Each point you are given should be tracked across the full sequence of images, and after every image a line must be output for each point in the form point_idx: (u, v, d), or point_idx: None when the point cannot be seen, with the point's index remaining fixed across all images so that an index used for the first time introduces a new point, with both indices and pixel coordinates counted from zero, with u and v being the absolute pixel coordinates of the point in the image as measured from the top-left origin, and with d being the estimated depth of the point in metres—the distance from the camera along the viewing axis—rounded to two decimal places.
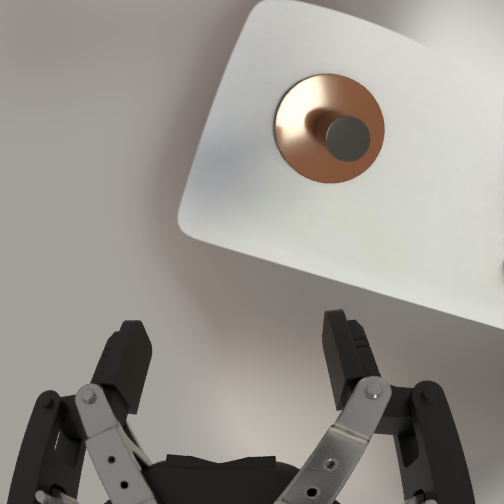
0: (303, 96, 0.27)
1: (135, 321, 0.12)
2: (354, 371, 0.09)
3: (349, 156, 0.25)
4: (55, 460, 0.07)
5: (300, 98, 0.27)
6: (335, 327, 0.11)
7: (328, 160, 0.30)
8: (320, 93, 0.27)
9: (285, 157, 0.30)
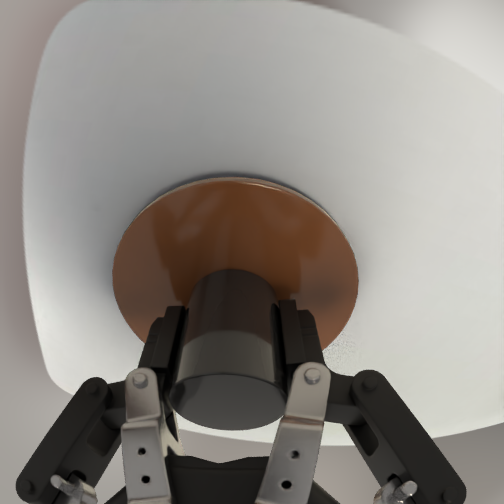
0: (155, 243, 0.12)
1: (179, 306, 0.13)
2: (296, 357, 0.10)
3: (236, 425, 0.10)
4: (84, 448, 0.07)
5: (149, 248, 0.13)
6: (284, 315, 0.12)
7: None
8: (194, 232, 0.12)
9: None
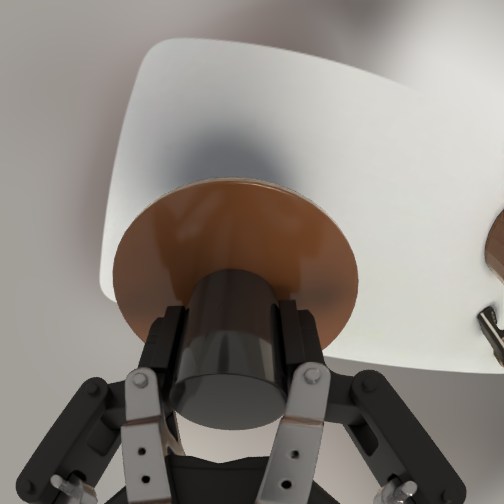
0: (155, 243, 0.12)
1: (179, 306, 0.13)
2: (296, 357, 0.10)
3: (236, 425, 0.10)
4: (84, 448, 0.07)
5: (149, 248, 0.13)
6: (284, 315, 0.12)
7: None
8: (195, 232, 0.12)
9: None
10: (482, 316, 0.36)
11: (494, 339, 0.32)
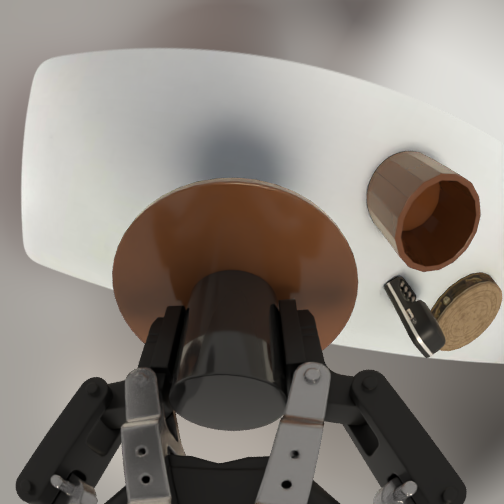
0: (155, 244, 0.12)
1: (179, 306, 0.13)
2: (296, 357, 0.10)
3: (235, 426, 0.10)
4: (84, 448, 0.07)
5: (149, 249, 0.13)
6: (284, 315, 0.12)
7: None
8: (194, 233, 0.12)
9: None
10: (388, 286, 0.39)
11: (398, 311, 0.35)
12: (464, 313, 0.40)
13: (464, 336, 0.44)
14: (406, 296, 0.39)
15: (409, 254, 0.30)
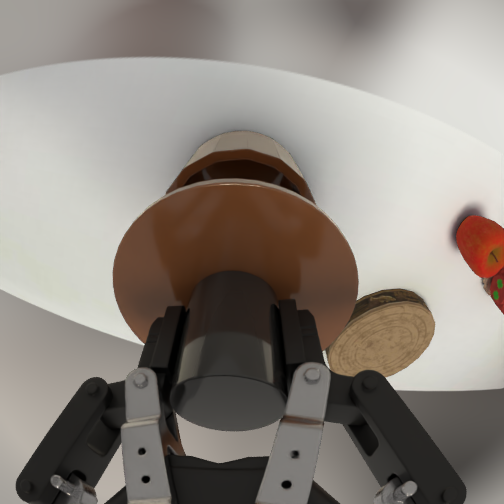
0: (155, 245, 0.12)
1: (179, 306, 0.13)
2: (296, 357, 0.10)
3: (236, 426, 0.10)
4: (84, 448, 0.07)
5: (149, 250, 0.13)
6: (284, 315, 0.12)
7: None
8: (195, 234, 0.12)
9: None
10: None
11: None
12: (372, 341, 0.36)
13: (383, 367, 0.39)
14: None
15: None
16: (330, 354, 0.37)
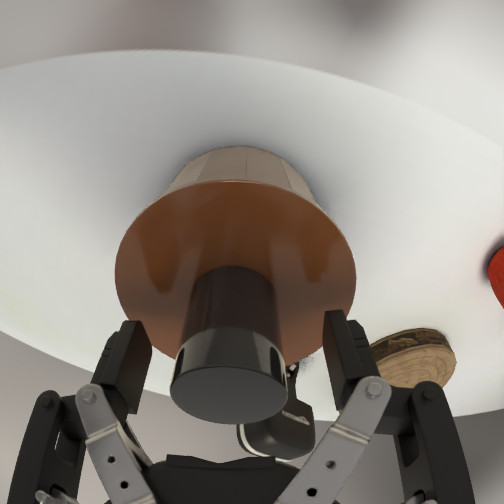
0: (157, 241, 0.13)
1: (135, 321, 0.12)
2: (354, 371, 0.09)
3: (235, 419, 0.11)
4: (55, 460, 0.07)
5: (151, 246, 0.13)
6: (335, 327, 0.11)
7: None
8: (195, 230, 0.12)
9: (151, 343, 0.16)
10: None
11: None
12: None
13: None
14: None
15: None
16: None
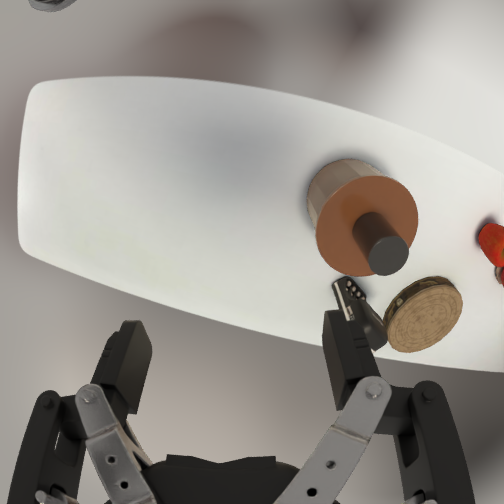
0: (346, 198, 0.29)
1: (135, 321, 0.12)
2: (354, 371, 0.09)
3: (387, 271, 0.27)
4: (55, 460, 0.07)
5: (343, 201, 0.29)
6: (335, 327, 0.11)
7: (362, 257, 0.32)
8: (363, 195, 0.29)
9: (323, 256, 0.32)
10: (335, 285, 0.44)
11: (339, 308, 0.40)
12: (420, 315, 0.45)
13: (424, 339, 0.48)
14: (353, 295, 0.44)
15: None
16: (390, 326, 0.46)
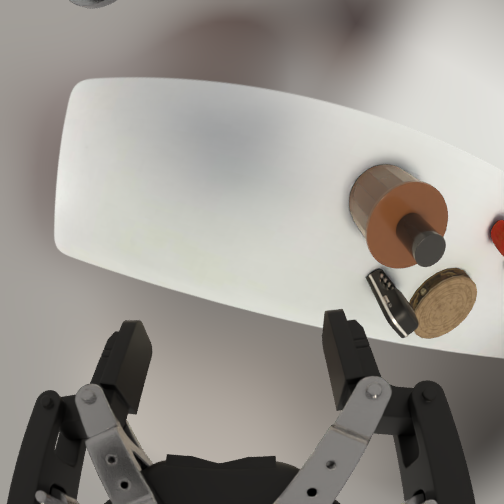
0: (393, 201, 0.32)
1: (135, 321, 0.12)
2: (354, 371, 0.09)
3: (428, 263, 0.30)
4: (55, 460, 0.07)
5: (390, 203, 0.32)
6: (335, 327, 0.11)
7: (402, 251, 0.35)
8: (406, 198, 0.32)
9: (371, 250, 0.35)
10: (369, 277, 0.47)
11: (376, 297, 0.43)
12: (441, 303, 0.49)
13: (443, 325, 0.52)
14: (385, 286, 0.47)
15: None
16: (415, 314, 0.50)
